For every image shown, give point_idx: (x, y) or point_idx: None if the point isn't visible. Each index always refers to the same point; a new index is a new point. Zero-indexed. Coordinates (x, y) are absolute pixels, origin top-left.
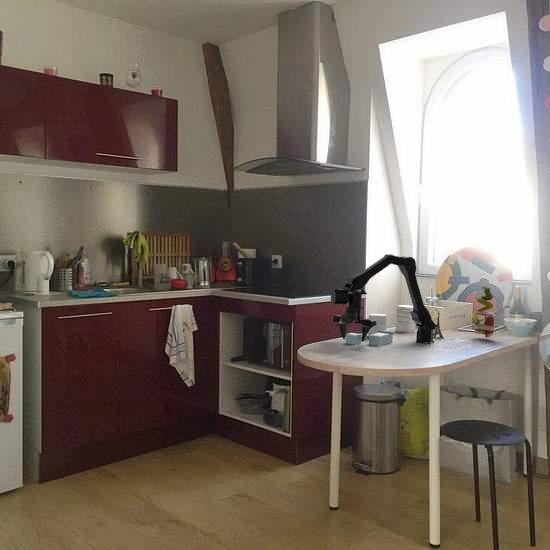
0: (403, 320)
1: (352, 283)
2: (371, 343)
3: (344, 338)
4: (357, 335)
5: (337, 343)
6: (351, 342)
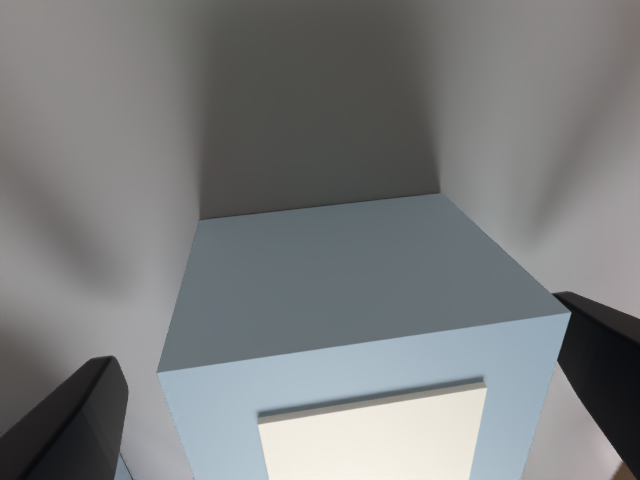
0: None
1: None
2: None
3: None
4: (181, 436)
5: (577, 43)
6: (306, 224)
